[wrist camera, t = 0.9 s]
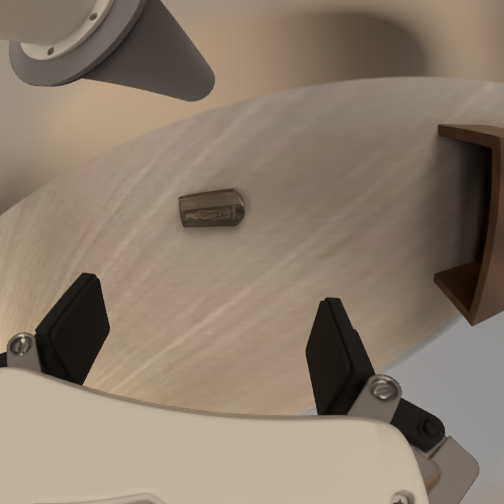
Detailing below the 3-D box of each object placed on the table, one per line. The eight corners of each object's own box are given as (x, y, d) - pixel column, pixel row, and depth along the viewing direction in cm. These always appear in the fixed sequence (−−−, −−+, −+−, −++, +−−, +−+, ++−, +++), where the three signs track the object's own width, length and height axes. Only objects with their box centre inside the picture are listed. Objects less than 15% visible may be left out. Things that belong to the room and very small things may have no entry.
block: (179, 193, 26) (175, 198, 24) (242, 186, 26) (242, 191, 24) (185, 228, 27) (182, 235, 26) (246, 222, 27) (246, 229, 26)
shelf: (437, 124, 22) (500, 137, 14) (491, 125, 22) (547, 140, 13) (433, 281, 31) (471, 326, 23) (481, 265, 30) (520, 301, 22)
